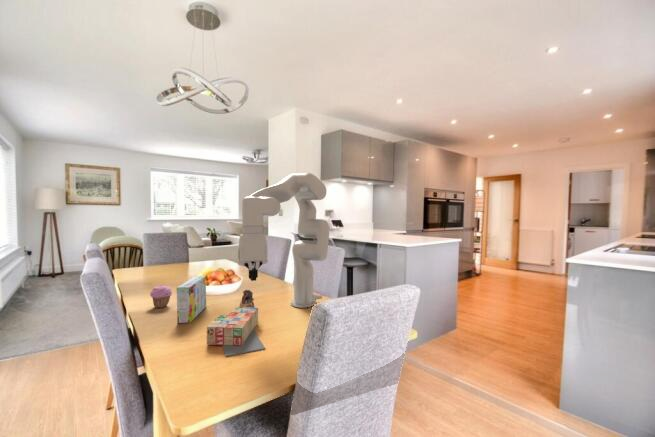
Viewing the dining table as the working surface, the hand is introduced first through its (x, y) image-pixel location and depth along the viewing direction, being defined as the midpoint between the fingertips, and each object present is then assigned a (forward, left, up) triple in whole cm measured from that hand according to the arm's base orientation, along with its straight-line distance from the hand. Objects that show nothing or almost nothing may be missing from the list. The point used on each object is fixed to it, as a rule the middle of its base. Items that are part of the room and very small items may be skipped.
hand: (253, 279), depth 111 cm
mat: (+5, 0, -21) cm, 21 cm away
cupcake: (+32, -51, -21) cm, 64 cm away
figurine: (-2, -20, -21) cm, 29 cm away
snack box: (+19, -33, -21) cm, 43 cm away
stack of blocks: (0, -1, -17) cm, 17 cm away
